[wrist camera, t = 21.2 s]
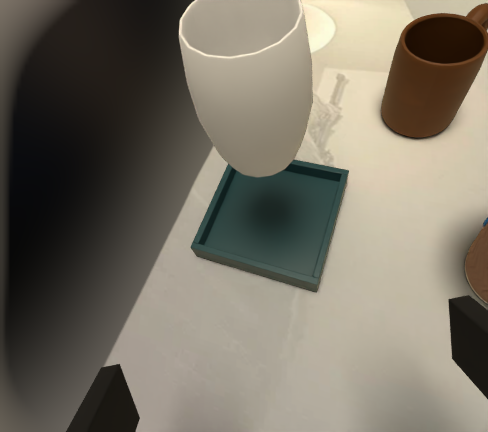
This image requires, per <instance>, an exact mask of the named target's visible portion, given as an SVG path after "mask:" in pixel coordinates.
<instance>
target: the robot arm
mask: <svg viewBox="0 0 488 432" xmlns="http://www.w3.org/2000/svg"><path fill="white" fill-rule="evenodd" d="M449 315H450V330H451V346H452V359H453V360H454V361H455V363H456V364H457V365H458V366H459V367H460V368H461V369H462V370H463V372H464V373H465V374H466V375H467V376H468V377H469V378H470V380H471V381H472V382H473V383H474V384H475V385H476V386H477V387H478V389H479V390H480V391H481V392H482V393H483V394H484V395H485V397H486V398H487V399H488V310H487V309H486V308H484V307H483V306H482V305H480V304H479V303H478V302H477V301H475V300H474V299H473V298H471V297H470V296H469V295H468V296H463V297H457V298H452V299H449ZM139 419H140V417H139V414H138V412H137V409H136V406H135V404H134V401H133V398H132V396H131V393H130V390H129V388H128V385H127V382H126V380H125V377H124V374H123V372H122V369H121V366H120V364H117V365H112V366H107V367H102V368H101V369H100V371H99V373H98V375H97V376H96V378H95V380H94V382H93V384H92V386H91V387H90V389H89V391H88V393H87V395H86V396H85V398H84V400H83V402H82V404H81V406H80V407H79V409H78V411H77V413H76V415H75V416H74V418H73V420H72V422H71V424H70V426H69V427H68V429H67V431H66V432H135V431H136V428H137V425H138V422H139Z"/></svg>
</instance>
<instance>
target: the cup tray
mask: <svg viewBox="0 0 488 432" xmlns="http://www.w3.org/2000/svg"><path fill="white" fill-rule="evenodd" d="M348 173H349V170H344V169H339V168H334V167H329V166H324V165H319V164H314V163H308V162H303V161H298V160H293V161H292V162H291V163H290V164H289V165H288V166H287V167H286V168H285V169H284V170H282V171H280V172H278V173H276V174H274V175H272V176H264V177H252V176H247V175H243V174H241V173H240V172H238V171H237V170H235V169H234V168H232V167H231V166H230V165H229V164H228V166H227V168H226V170H225V172H224V174H223V177H222V179H221V181H220V183H219V185H218V188H217V190H216V192H215V194H214V196H213V199H212V201H211V203H210V205H209V207H208V210H207V212H206V214H205V216H204V219H203V221H202V223H201V225H200V227H199V230H198V232H197V234H196V236H195V238H194V241H193V243H192V245H191V249H192V250H193V251H194V253H195V254H196V256H198V257H201V258H205V259H208V260H211V261H214V262H218V263H221V264H224V265H228V266H231V267H234V268H238V269H241V270H244V271H248V272H251V273H254V274H257V275H261V276H264V277H267V278H271V279H274V280H277V281H281V282H284V283H287V284H290V285H294V286H297V287H300V288H304V289H307V290H310V291H314V292H317V290H318V286H319V282H320V279H321V275H322V271H323V268H324V264H325V260H326V257H327V253H328V249H329V246H330V242H331V238H332V235H333V231H334V227H335V224H336V220H337V216H338V213H339V209H340V206H341V202H342V198H343V195H344V191H345V187H346V184H347V179H348Z"/></svg>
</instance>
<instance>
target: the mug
mask: <svg viewBox="0 0 488 432" xmlns="http://www.w3.org/2000/svg"><path fill="white" fill-rule="evenodd" d="M487 29H488V4H487V3H485V4H481V5H478V6H477V7H475V8H474V9H472V10H471V11H470V12H469V13H468V15H467V16H466V17H465V16H461V15H456V14H448V13H440V14H431V15H426V16H423V17H420V18H418V19H416V20H414V21H412V22H411V23H409V24H408V25H407V26H406V27H405V29H404V30H403V31H402V33H401V36H400V39H399V42H398V44H397V47H396V50H395V53H394V57H393V61H392V64H391V68H390V72H389V76H388V80H387V84H386V89H385V93H384V96H383V101H382V107H381V111H382V117H383V119H384V121H385V122H386V124H387V125H388V126H389V127H390V128H391V129H393V130H394V131H396V132H398V133H400V134H402V135H405V136H409V137H428V136H432V135H435V134H437V133H439V132H441V131H443V130H444V129H445V128H446V127H447V126H448V125H449V124H450V123H451V121H452V120H453V118H454V117H455V115H456V113H457V111H458V109H459V107H460V105H461V104H462V102H463V100H464V98H465V96H466V94H467V93H468V91H469V89H470V87H471V85H472V83H473V81H474V79H475V77H476V75H477V74H478V72H479V70H480V68H481V65H482V63H483V60H484V58H485V55H486V53H487V51H488V33H487Z"/></svg>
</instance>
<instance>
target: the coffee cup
mask: <svg viewBox="0 0 488 432" xmlns="http://www.w3.org/2000/svg"><path fill="white" fill-rule="evenodd" d="M465 273H466V278H467V280H468V282H469V284H470V286H471V288H472V289H473V291H474V292H475V293H476V294H477V295H478V296H479V297H480V299H482V300H483V301H484V302H485V303H487V304H488V218H487V219H486V220H485V222H484V223H483V228H482V230H481V231H480V233H479V234H478V236H477V237H476V239H475V240H474V242H473V243H472V245H471V247H470V248H469V252H468V254H467V257H466V261H465Z"/></svg>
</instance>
